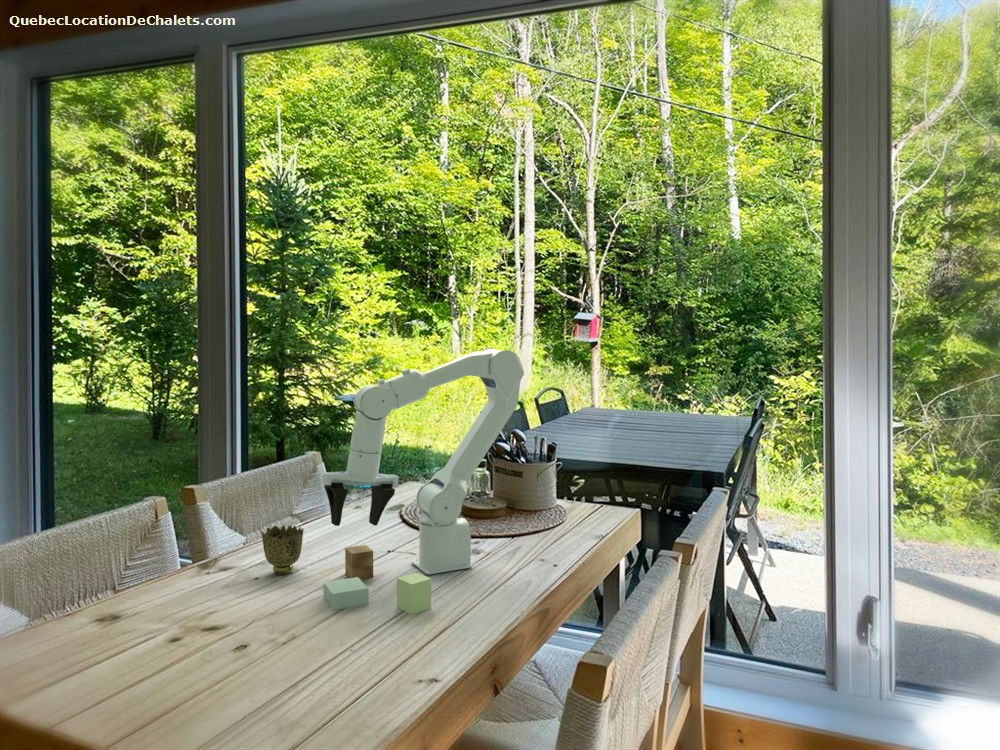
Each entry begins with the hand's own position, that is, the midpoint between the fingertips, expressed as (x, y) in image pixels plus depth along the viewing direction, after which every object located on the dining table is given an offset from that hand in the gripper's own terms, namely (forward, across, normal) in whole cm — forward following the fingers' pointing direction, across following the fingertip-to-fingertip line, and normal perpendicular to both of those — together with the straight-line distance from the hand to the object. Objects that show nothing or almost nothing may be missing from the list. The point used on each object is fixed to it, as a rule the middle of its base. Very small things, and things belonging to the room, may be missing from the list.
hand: (354, 524), depth 139 cm
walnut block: (+10, -2, 0) cm, 10 cm away
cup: (+12, +8, -9) cm, 17 cm away
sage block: (+9, -3, +20) cm, 22 cm away
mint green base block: (+10, +5, +10) cm, 16 cm away
